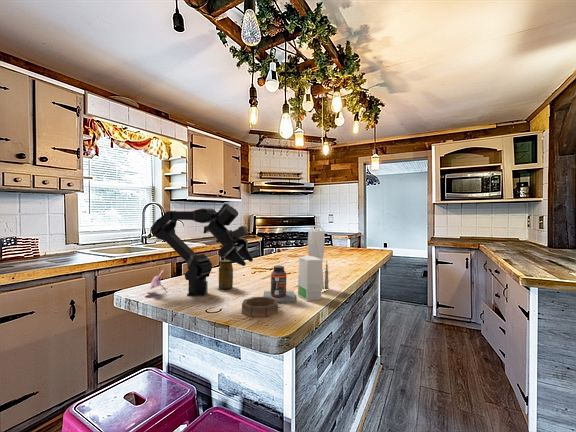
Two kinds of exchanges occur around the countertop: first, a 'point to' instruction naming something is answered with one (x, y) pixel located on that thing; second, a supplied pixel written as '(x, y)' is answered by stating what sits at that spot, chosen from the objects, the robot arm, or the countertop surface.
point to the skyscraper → (318, 249)
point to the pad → (286, 299)
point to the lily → (155, 282)
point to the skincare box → (310, 278)
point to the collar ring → (260, 307)
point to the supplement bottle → (278, 282)
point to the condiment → (226, 276)
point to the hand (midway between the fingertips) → (248, 263)
